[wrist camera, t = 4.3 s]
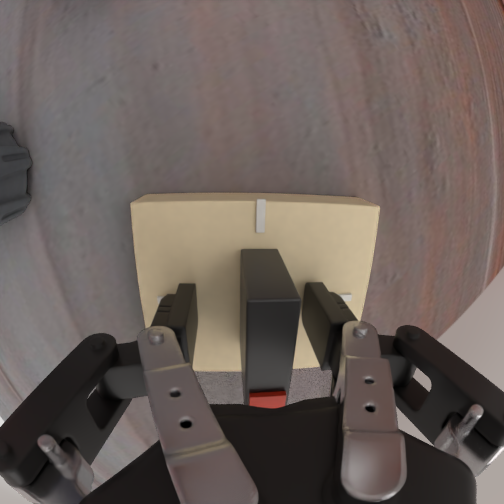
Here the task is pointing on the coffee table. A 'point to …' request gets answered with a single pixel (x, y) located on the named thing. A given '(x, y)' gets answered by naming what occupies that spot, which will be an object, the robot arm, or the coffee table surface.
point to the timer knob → (267, 327)
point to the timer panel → (248, 237)
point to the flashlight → (12, 175)
